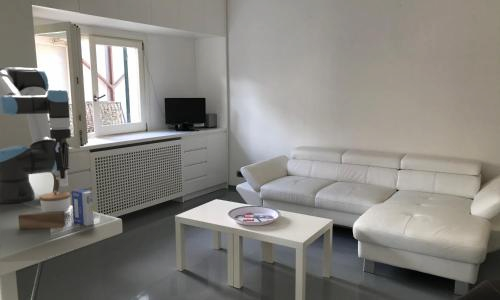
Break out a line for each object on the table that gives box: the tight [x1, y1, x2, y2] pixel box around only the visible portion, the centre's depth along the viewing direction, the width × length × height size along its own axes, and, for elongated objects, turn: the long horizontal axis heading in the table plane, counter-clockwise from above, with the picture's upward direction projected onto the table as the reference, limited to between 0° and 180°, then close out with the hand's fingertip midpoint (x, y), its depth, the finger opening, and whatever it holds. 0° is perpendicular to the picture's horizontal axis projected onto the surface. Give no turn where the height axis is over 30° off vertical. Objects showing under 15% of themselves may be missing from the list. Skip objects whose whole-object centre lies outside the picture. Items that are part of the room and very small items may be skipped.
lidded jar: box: [39, 190, 72, 214], centre depth 154 cm, size 11×11×9 cm
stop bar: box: [17, 211, 66, 231], centre depth 139 cm, size 3×14×5 cm, turn 99°
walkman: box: [71, 188, 95, 227], centre depth 143 cm, size 8×3×12 cm, turn 59°
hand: (64, 185), depth 165 cm, fingers closed
